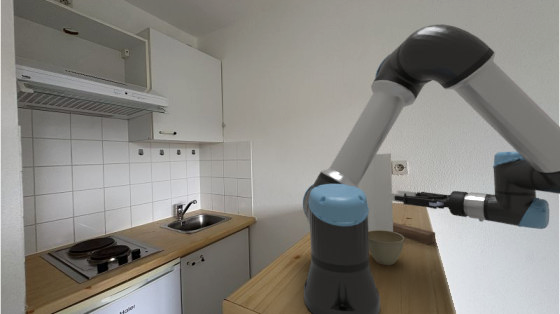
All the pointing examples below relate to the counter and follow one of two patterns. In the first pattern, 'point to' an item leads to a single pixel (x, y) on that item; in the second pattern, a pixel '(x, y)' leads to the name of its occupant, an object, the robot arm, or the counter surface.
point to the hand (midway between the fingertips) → (393, 194)
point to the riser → (379, 193)
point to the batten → (414, 233)
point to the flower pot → (385, 246)
